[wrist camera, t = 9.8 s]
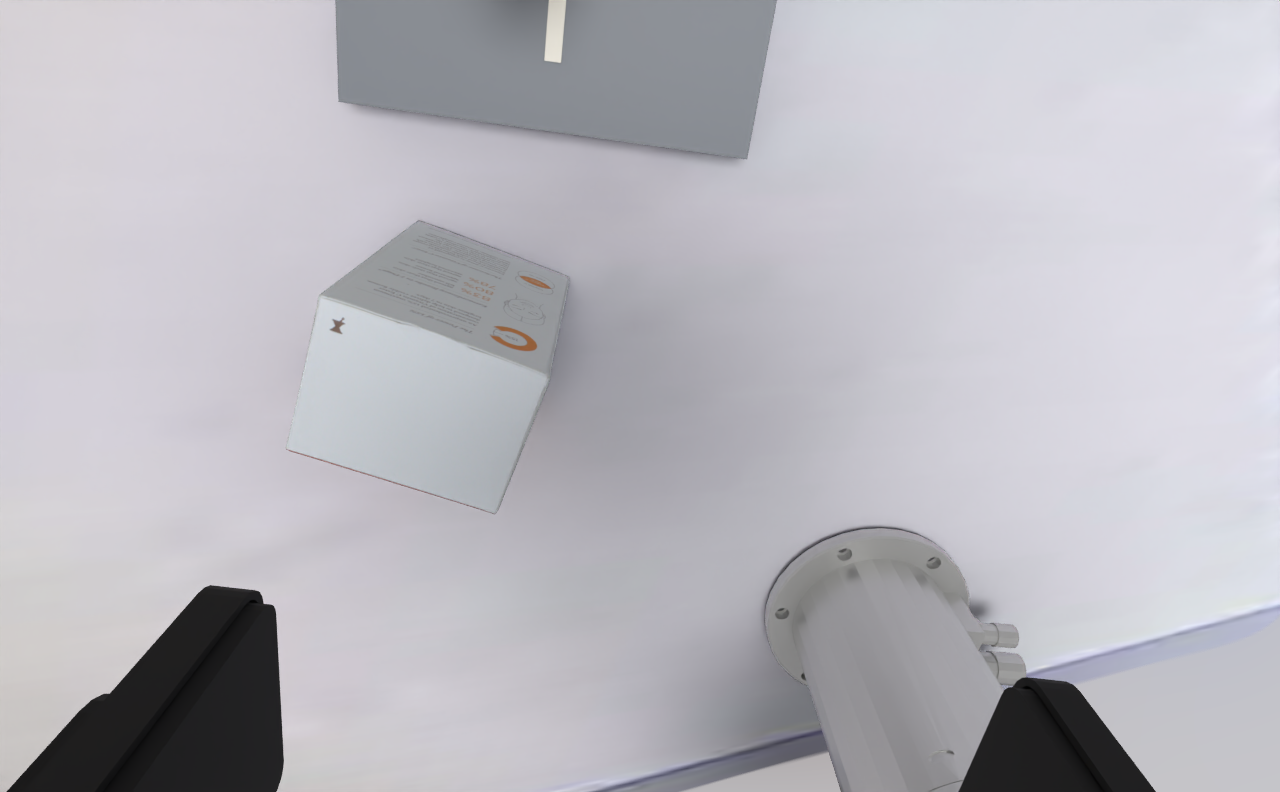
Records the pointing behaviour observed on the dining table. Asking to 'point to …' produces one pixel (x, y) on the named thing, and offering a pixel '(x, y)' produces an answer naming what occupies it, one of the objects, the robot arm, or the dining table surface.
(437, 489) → the small box
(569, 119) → the plate
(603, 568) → the dining table surface
